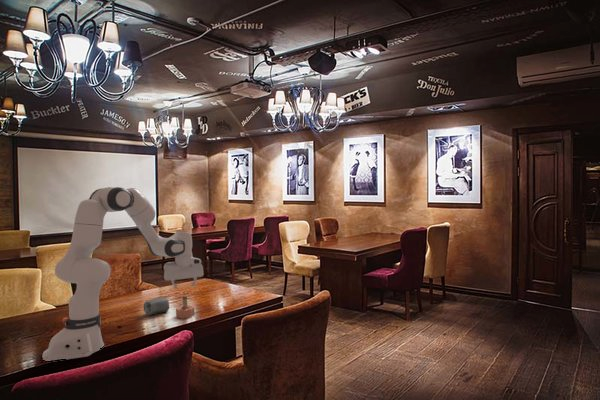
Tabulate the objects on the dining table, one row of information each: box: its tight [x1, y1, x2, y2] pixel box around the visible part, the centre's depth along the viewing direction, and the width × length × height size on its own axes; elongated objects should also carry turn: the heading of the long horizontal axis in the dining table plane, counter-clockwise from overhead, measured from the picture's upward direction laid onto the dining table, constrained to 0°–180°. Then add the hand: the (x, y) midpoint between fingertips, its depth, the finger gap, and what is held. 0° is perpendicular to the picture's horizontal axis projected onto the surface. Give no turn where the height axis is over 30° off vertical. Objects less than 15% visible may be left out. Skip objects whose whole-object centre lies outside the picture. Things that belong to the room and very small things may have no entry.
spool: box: [143, 296, 170, 316], centre depth 215 cm, size 14×10×10 cm
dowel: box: [181, 295, 188, 309], centre depth 211 cm, size 2×2×10 cm
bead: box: [175, 304, 196, 319], centre depth 211 cm, size 9×9×4 cm
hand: (184, 286), depth 210 cm, fingers open, 8 cm apart
